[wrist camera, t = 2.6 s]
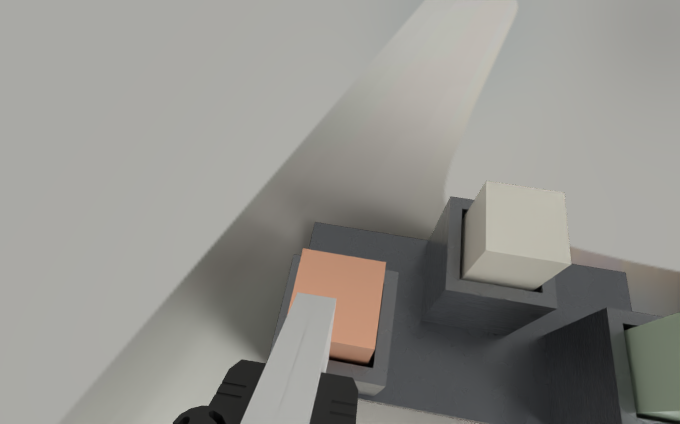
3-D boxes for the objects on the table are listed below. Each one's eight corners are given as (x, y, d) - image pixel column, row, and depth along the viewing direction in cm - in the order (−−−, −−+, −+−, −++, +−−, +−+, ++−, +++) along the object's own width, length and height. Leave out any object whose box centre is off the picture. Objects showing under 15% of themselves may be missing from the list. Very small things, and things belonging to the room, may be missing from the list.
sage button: (653, 355, 27) (775, 327, 20) (666, 428, 25) (808, 429, 18) (586, 343, 28) (680, 311, 20) (593, 414, 25) (702, 409, 18)
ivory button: (508, 250, 31) (564, 192, 23) (509, 307, 29) (571, 264, 21) (449, 240, 31) (486, 180, 23) (446, 296, 29) (485, 250, 21)
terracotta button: (372, 305, 29) (386, 262, 21) (363, 371, 27) (374, 349, 19) (311, 294, 29) (303, 248, 21) (297, 359, 27) (283, 332, 19)
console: (614, 278, 35) (702, 231, 27) (640, 454, 29) (766, 465, 20) (315, 229, 37) (310, 171, 28) (280, 384, 31) (260, 368, 22)
